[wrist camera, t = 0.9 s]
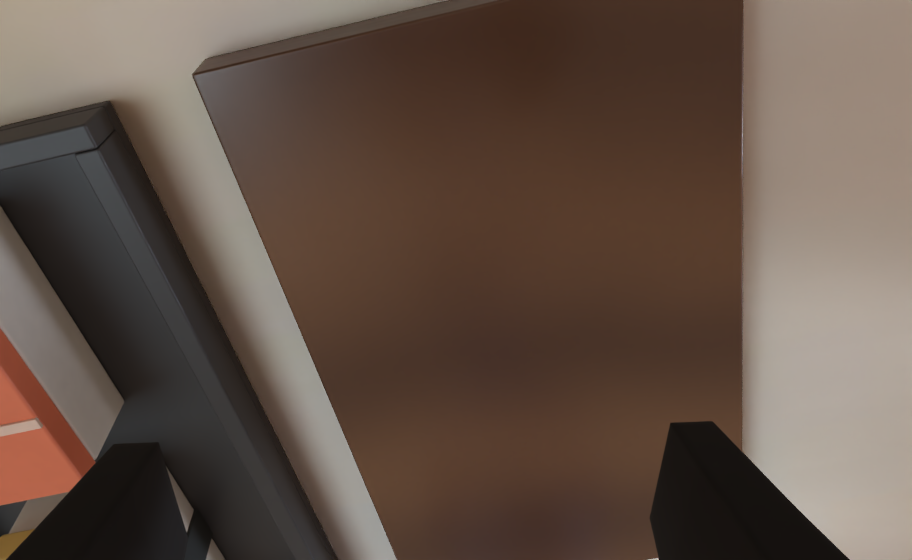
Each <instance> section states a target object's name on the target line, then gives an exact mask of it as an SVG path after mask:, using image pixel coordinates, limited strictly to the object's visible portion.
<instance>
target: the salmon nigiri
mask: <svg viewBox="0 0 912 560" xmlns="http://www.w3.org/2000/svg"><path fill="white" fill-rule="evenodd" d="M123 404H124V399H123V398H122V396H121V395H120V393H119V391H118V390H117V388H116V387H115V385H114V384H113V382H112V380H111V379H110V377H109V376H108V374H107V373H106V371H105V369H104V368H103V366H102V365H101V363H100V362H99V360H98V358H97V357H96V355H95V354H94V352H93V351H92V349H91V347H90V346H89V344H88V343H87V341H86V340H85V338H84V336H83V335H82V333H81V332H80V330H79V329H78V327H77V325H76V324H75V322H74V321H73V319H72V317H71V316H70V314H69V313H68V311H67V310H66V308H65V306H64V305H63V303H62V302H61V300H60V299H59V297H58V295H57V294H56V292H55V291H54V289H53V288H52V286H51V284H50V283H49V281H48V280H47V278H46V277H45V275H44V273H43V272H42V270H41V269H40V267H39V266H38V264H37V262H36V261H35V259H34V258H33V256H32V255H31V253H30V251H29V250H28V248H27V247H26V245H25V244H24V242H23V240H22V239H21V237H20V236H19V234H18V233H17V231H16V229H15V228H14V226H13V225H12V223H11V221H10V220H9V218H8V217H7V215H6V214H5V212H4V210H3V209H2V207H1V206H0V506H1V505H6V504H11V503H16V502H21V501H26V500H31V499H36V498H41V497H46V496H51V495H56V494H61V493H66V492H69V491H70V490H71V489H72V488H73V487H74V486H75V485H76V484H77V483H78V482H79V480H80V479H81V478H82V477H83V476H84V475H85V474H86V473H87V472H88V471H89V470H90V468H91V467H92V466H93V465H94V464H95V463H96V462H95V459H96V458H97V457H98V455H99V453H100V451H101V449H102V447H103V444H104V442H105V440H106V438H107V436H108V434H109V432H110V430H111V428H112V426H113V424H114V422H115V420H116V418H117V416H118V414H119V412H120V410H121V408H122V406H123Z"/></svg>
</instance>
